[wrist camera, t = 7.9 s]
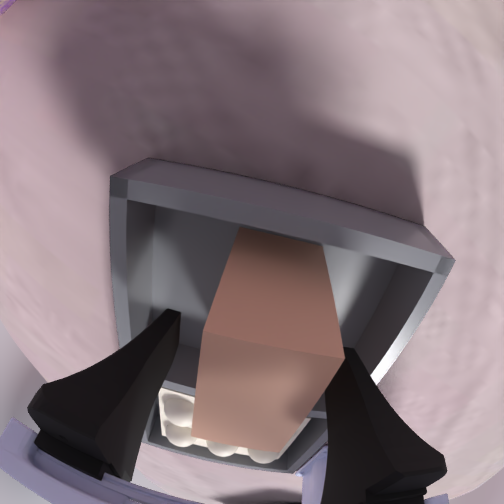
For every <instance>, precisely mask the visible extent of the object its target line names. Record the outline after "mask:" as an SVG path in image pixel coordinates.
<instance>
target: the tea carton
mask: <svg viewBox="0 0 504 504" xmlns="http://www.w3.org/2000/svg"><path fill="white" fill-rule="evenodd" d="M344 359H345V356H344V350H343V344H342V338H341V333H340V327H339V322H338V317H337V311H336V306H335V301H334V296H333V291H332V286H331V282H330V277H329V272H328V268H327V263H326V259H325V254H324V250H323V246H319V245H315V244H311V243H307V242H303V241H299V240H294V239H290V238H286V237H282V236H277V235H273V234H269V233H264V232H260V231H256V230H251V229H247V228H242V227H239V230H238V233H237V235H236V238H235V241H234V244H233V246H232V249H231V252H230V255H229V258H228V260H227V263H226V266H225V269H224V272H223V275H222V277H221V280H220V283H219V286H218V289H217V292H216V294H215V297H214V300H213V303H212V306H211V309H210V312H209V315H208V317H207V320H206V323H205V326H204V329H203V334H202V342H201V350H200V357H199V366H198V374H197V383H196V391H195V400H194V410H193V419H192V430H191V436H192V437H196V438H200V439H204V440H208V441H213V442H217V443H222V444H227V445H232V446H238V447H243V448H249V449H255V450H262V451H270V452H278V453H279V452H280V451H281V450H282V449H283V447H284V446H285V445H286V443H287V442H288V441H289V440H290V438H291V437H292V436H293V434H294V433H295V432H296V430H297V429H298V428H299V426H300V425H301V424H302V422H303V421H304V420H305V418H306V417H307V415H308V414H309V413H310V411H311V410H312V408H313V407H314V405H315V404H316V403H317V401H318V400H319V398H320V397H321V395H322V394H323V392H324V391H325V389H326V388H327V386H328V385H329V383H330V382H331V380H332V378H333V377H334V375H335V374H336V372H337V371H338V369H339V367H340V366H341V364H342V363H343V361H344Z"/></svg>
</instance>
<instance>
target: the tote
mask: <svg viewBox="0 0 504 504" xmlns="http://www.w3.org/2000/svg"><path fill="white" fill-rule="evenodd" d="M109 226H110V257H111V274H112V287H113V298H114V308H115V317H116V325H117V333H118V340H119V346H120V349H121V348H122V347H123V346H125V345H126V344H127V343H128V342H130V341H131V340H132V339H134V338H135V337H136V336H137V335H139V334H140V333H141V332H142V331H143V330H144V329H146V328H147V327H148V326H149V325H150V324H151V323H152V322H153V321H154V320H155V319H156V318H157V317H159V316H160V315H161V314H162V313H163V312H164V310H166V309H167V308H169V309H172V310H176V311H180V312H181V321H180V336H179V345H178V348H177V351H176V355H175V357H174V360H173V363H172V365H171V368H170V370H169V372H168V374H167V376H166V378H165V380H164V383H163V385H162V387H165V388H169V389H172V390H175V391H179V392H183V393H186V394H190V395H194V396H195V391H196V383H197V374H198V366H199V357H200V350H201V342H202V334H203V329H204V326H205V323H206V320H207V317H208V315H209V312H210V309H211V306H212V303H213V300H214V297H215V294H216V292H217V289H218V286H219V283H220V280H221V277H222V275H223V272H224V269H225V266H226V263H227V260H228V258H229V255H230V252H231V249H232V246H233V244H234V241H235V238H236V235H237V233H238V230H239V227H242V228H247V229H251V230H256V231H260V232H264V233H269V234H273V235H277V236H282V237H286V238H290V239H294V240H299V241H303V242H307V243H311V244H315V245H319V246H323V250H324V254H325V259H326V263H327V268H328V272H329V277H330V282H331V286H332V291H333V296H334V301H335V306H336V311H337V317H338V322H339V327H340V333H341V338H342V344H343V347H349V348H354V349H355V351H356V352H357V354H358V355H359V357H360V359H361V361H362V362H363V364H364V366H365V367H366V369H367V371H368V372H369V374H370V376H371V377H372V379H373V381H374V382H375V384H376V385H377V384H378V383H379V381H380V380H381V379H382V378H383V376H384V375H385V374H386V372H387V371H388V370H389V368H390V367H391V366H392V364H393V363H394V362H395V360H396V359H397V357H398V356H399V355H400V353H401V352H402V350H403V349H404V347H405V346H406V344H407V343H408V341H409V340H410V339H411V337H412V335H413V334H414V332H415V331H416V329H417V328H418V326H419V325H420V323H421V321H422V320H423V318H424V317H425V315H426V313H427V312H428V310H429V308H430V307H431V305H432V303H433V302H434V300H435V298H436V296H437V295H438V293H439V291H440V289H441V287H442V286H443V284H444V282H445V280H446V278H447V276H448V274H449V272H450V271H451V269H452V267H453V265H454V263H455V261H456V260H455V259H454V258H453V257H452V255H451V254H450V253H449V252H448V251H447V250H446V249H445V248H444V246H443V245H442V244H441V243H440V242H439V241H438V240H437V239H436V238H435V237H434V236H433V235H432V233H431V232H430V231H429V230H428V229H427V228H426V227H425V226H422V225H419V224H416V223H413V222H410V221H407V220H404V219H401V218H398V217H395V216H392V215H389V214H386V213H383V212H379V211H376V210H373V209H370V208H366V207H363V206H359V205H356V204H353V203H349V202H346V201H342V200H339V199H335V198H331V197H328V196H324V195H320V194H317V193H313V192H309V191H305V190H301V189H297V188H294V187H289V186H285V185H281V184H277V183H273V182H269V181H264V180H260V179H256V178H251V177H247V176H242V175H238V174H233V173H228V172H223V171H218V170H213V169H208V168H203V167H198V166H192V165H187V164H181V163H176V162H170V161H164V160H158V159H152V158H147V159H145V160H142V161H140V162H138V163H136V164H134V165H132V166H130V167H128V168H125V169H123V170H121V171H119V172H117V173H115V174H113V175H111V176H110V202H109ZM307 417H311V419H310V421H309V422H308V423H307V425H306V426H305V427H304V428H303V430H302V431H301V432H300V433H299V435H298V436H297V437H296V438H295V440H294V441H293V442H292V443H291V445H290V446H289V447H288V448H287V449H286V451H285V452H284V453H283V454H282V455H281V456H280V458H279V459H275V460H274V461H272V462H270V463H266V464H262V463H258V462H255V461H254V460H253V459H251V457H250V456H249V455H243V454H237V453H234V454H232V455H230V456H226V457H221V456H217V455H215V454H213V453H212V452H211V451H210V450H209V449H208V447H204V446H199V445H195V444H192V445H190V446H187V447H179V446H176V445H174V444H172V443H171V442H170V441H169V440H168V438H167V437H166V436H163V435H162V430H161V419H160V407H159V393H158V395H157V397H156V400H155V402H154V404H153V407H152V409H151V412H150V415H149V419H148V422H147V425H146V428H145V431H144V435H143V438H142V441H141V442H143V443H146V444H149V445H152V446H155V447H158V448H161V449H164V450H168V451H171V452H175V453H178V454H182V455H186V456H190V457H193V458H198V459H202V460H206V461H211V462H215V463H220V464H225V465H231V466H236V467H242V468H249V469H255V470H263V471H271V472H281V473H292V474H293V473H294V472H295V471H296V470H297V469H299V468H300V467H301V466H302V465H303V464H304V463H305V462H306V461H307V460H308V459H309V458H311V457H312V456H313V455H314V454H315V453H316V452H317V451H318V450H319V449H320V448H321V447H322V446H323V445H324V444H325V443H326V442H327V441H328V429H327V416H326V404H325V391H324V392H323V394H322V395H321V397H320V398H319V400H318V401H317V403H316V404H315V405H314V407H313V408H312V410H311V411H310V413H309V414H308V415H307Z"/></svg>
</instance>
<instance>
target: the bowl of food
mask: <svg viewBox="0 0 504 504" xmlns="http://www.w3.org/2000/svg"><path fill="white" fill-rule="evenodd" d="M15 1H16V0H0V15H2V14H3V13H4V12H5V11H6V10H7V9H8V8H9V7H10V6H11V5H12V4H13V3H14V2H15Z"/></svg>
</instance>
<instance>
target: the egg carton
mask: <svg viewBox="0 0 504 504" xmlns="http://www.w3.org/2000/svg"><path fill="white" fill-rule="evenodd" d="M194 400H195V396H194V395H190V394H186V393H183V392H179V391H175V390H172V389H169V388H165V387H161V389H160V391H159V407H160V419H161V430H162V435H163V436H166V437H167V438H168V440H169V441H170V442H171V443H172V444H174V445H176V446H179V447H187V446H190V445H192V444H195V445H199V446H204V447H208V449H209V450H210V451H211V452H212V453H213V454H215V455H217V456H221V457H226V456H230V455H232V454H234V453H237V454H243V455H249V456H250V457H251V459H253V460H254V461H255V462H258V463H262V464H266V463H270V462H272V461H274V460H275V459H279V458H280V456H281V455H282V454H283V453H284V452H285V451H286V449H287V448H288V447H289V446H290V445H291V443H292V442H293V441H294V440H295V438H296V437H297V436H298V435H299V433H300V432H301V431H302V430H303V428H304V427H305V426H306V425H307V423H308V422H309V421H310V419H311V417H306V418H305V420H304V421H303V422H302V424H301V425H300V426H299V428H298V429H297V430H296V432H295V433H294V434H293V436H292V437H291V438H290V440H289V441H288V442H287V443H286V445H285V446H284V447H283V449H282V450H281V451H280V452H279V453H278V452H270V451H262V450H255V449H249V448H243V447H238V446H232V445H227V444H222V443H217V442H213V441H208V440H204V439H200V438H196V437H192V436H191V430H192V419H193V410H194Z"/></svg>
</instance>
